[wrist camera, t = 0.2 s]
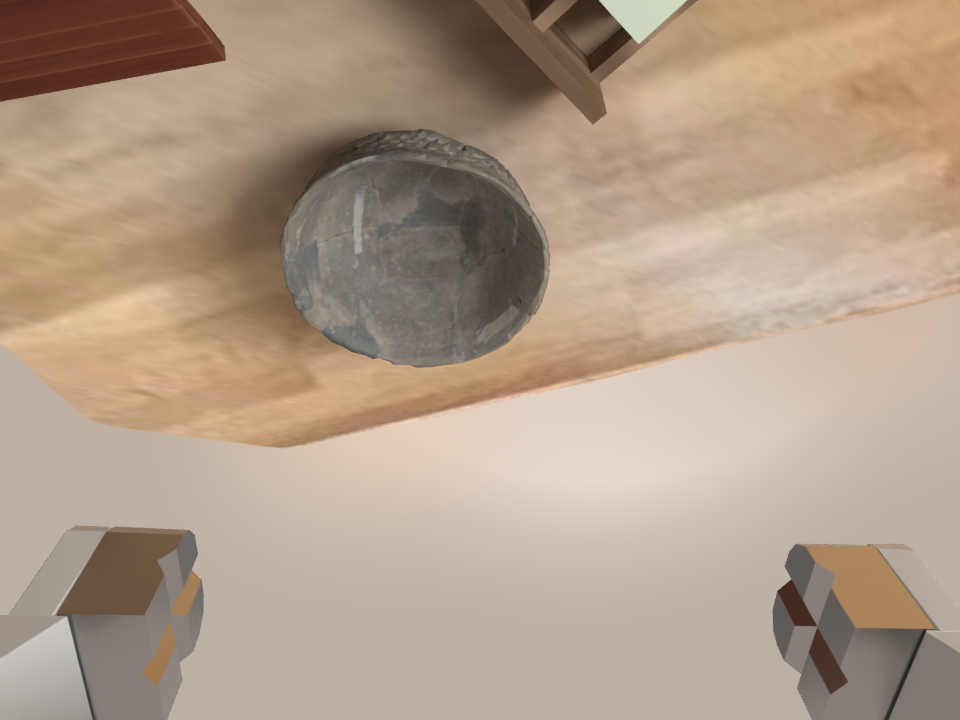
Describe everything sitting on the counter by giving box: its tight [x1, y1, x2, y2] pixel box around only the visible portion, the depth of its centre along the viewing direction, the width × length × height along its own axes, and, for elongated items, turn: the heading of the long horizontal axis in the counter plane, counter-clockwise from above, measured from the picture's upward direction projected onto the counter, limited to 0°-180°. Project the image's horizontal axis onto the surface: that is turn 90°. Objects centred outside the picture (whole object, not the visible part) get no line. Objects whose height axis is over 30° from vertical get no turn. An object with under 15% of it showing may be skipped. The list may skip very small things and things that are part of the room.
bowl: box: [280, 129, 550, 368], centre depth 63 cm, size 21×21×10 cm
